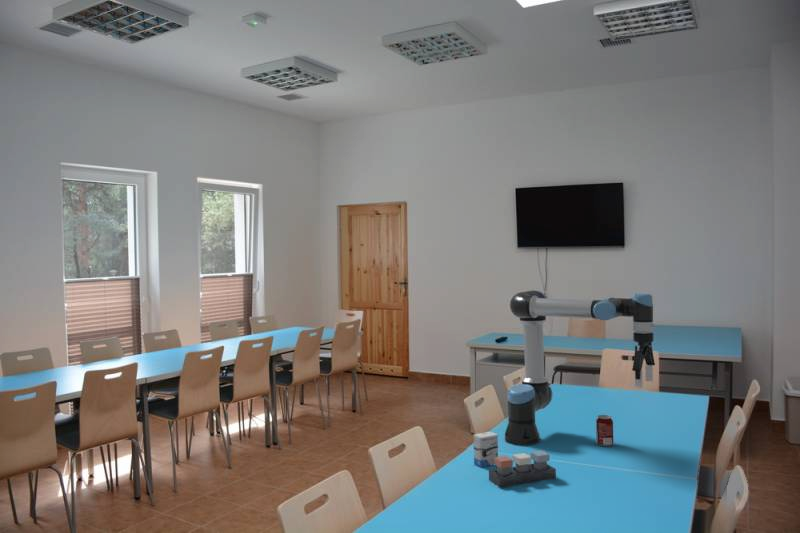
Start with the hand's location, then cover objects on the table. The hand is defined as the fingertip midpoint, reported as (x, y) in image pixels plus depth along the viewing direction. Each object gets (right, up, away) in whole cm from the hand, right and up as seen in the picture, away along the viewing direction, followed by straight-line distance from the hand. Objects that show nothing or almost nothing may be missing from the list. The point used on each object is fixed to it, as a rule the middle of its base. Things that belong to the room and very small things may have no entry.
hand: (644, 384), depth 250 cm
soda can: (-12, -28, +11) cm, 32 cm away
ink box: (-65, -30, -8) cm, 72 cm away
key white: (-54, -27, -26) cm, 66 cm away
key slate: (-47, -26, -23) cm, 59 cm away
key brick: (-62, -27, -28) cm, 73 cm away
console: (-54, -30, -25) cm, 67 cm away
